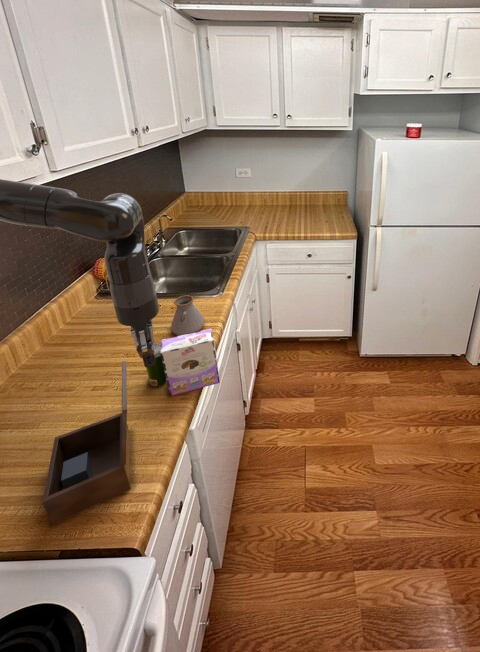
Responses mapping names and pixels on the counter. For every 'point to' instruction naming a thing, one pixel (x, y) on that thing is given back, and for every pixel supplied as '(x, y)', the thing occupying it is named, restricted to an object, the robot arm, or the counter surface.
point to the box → (106, 468)
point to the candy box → (190, 361)
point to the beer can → (157, 369)
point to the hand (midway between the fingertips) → (150, 364)
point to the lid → (124, 412)
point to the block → (76, 470)
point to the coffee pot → (186, 317)
